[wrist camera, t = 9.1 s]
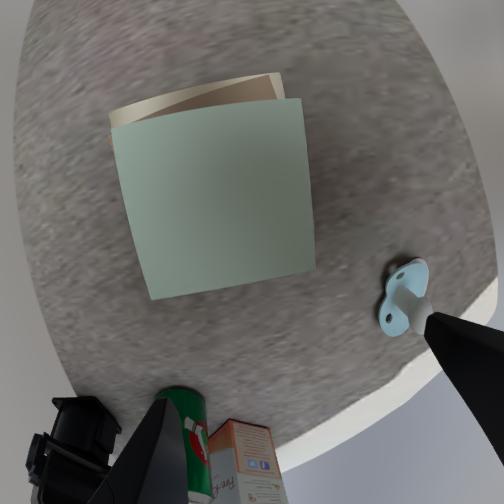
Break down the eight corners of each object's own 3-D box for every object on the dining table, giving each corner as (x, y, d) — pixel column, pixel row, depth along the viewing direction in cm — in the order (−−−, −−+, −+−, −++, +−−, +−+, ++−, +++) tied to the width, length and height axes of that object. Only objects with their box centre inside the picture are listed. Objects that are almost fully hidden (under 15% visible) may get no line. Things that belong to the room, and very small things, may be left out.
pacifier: (430, 250, 24) (383, 254, 22) (476, 277, 18) (431, 287, 17) (413, 315, 26) (367, 326, 25) (449, 349, 21) (402, 367, 19)
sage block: (171, 236, 14) (151, 300, 8) (151, 134, 12) (110, 129, 6) (272, 219, 14) (315, 270, 9) (260, 116, 12) (300, 97, 7)
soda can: (152, 410, 25) (145, 512, 14) (158, 379, 24) (149, 497, 13) (199, 418, 26) (207, 519, 15) (211, 390, 25) (223, 504, 14)
